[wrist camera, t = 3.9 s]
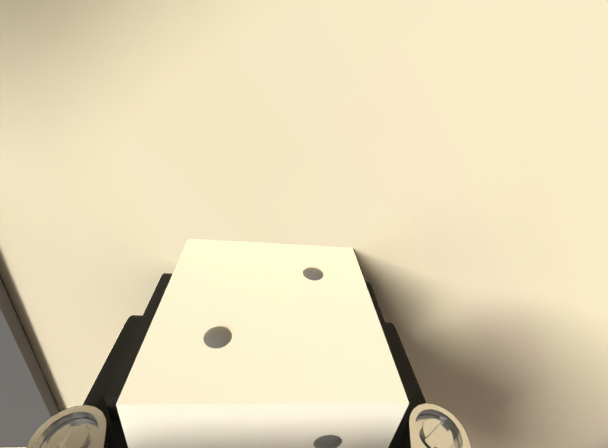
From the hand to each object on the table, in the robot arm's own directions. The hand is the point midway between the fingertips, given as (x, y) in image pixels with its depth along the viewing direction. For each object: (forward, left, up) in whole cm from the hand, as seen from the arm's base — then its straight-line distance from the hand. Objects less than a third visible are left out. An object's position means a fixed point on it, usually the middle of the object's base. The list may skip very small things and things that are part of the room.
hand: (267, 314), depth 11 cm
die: (0, 0, -1) cm, 1 cm away
